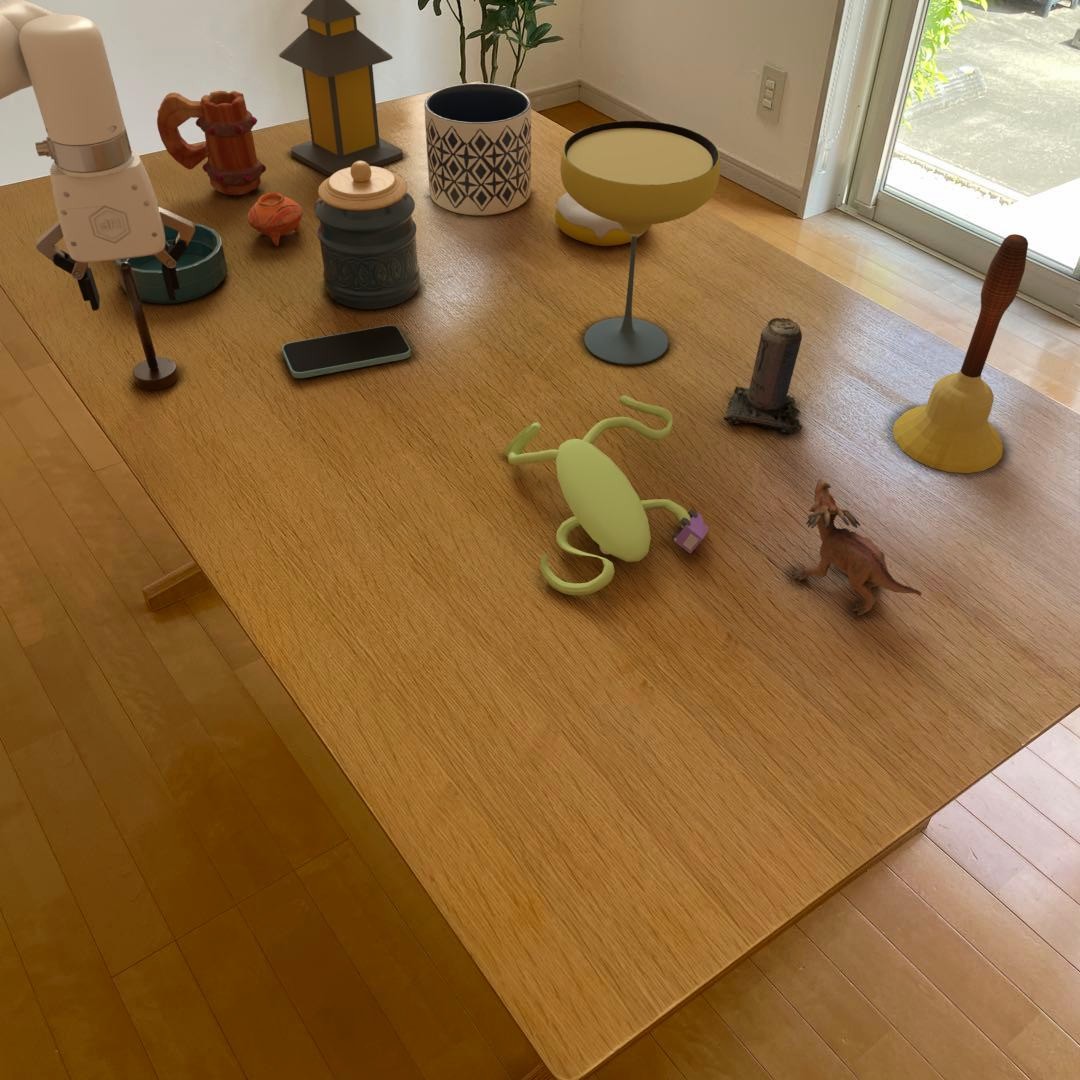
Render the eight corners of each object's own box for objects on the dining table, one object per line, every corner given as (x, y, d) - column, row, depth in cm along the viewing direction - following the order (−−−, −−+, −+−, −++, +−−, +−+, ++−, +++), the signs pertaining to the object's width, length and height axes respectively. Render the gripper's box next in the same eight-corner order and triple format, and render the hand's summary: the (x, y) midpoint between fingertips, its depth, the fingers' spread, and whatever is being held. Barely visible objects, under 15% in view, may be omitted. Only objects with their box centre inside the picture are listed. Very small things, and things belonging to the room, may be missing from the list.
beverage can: (794, 397, 127) (813, 310, 119) (802, 436, 121) (822, 347, 113) (719, 394, 127) (733, 306, 119) (723, 432, 121) (738, 343, 113)
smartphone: (412, 352, 131) (293, 374, 127) (413, 359, 132) (294, 382, 127) (395, 323, 136) (280, 343, 131) (396, 330, 137) (281, 351, 132)
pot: (310, 245, 152) (292, 203, 147) (259, 260, 153) (239, 218, 148) (310, 218, 158) (293, 177, 153) (261, 232, 158) (242, 191, 153)
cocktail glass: (706, 316, 140) (731, 129, 123) (684, 392, 127) (709, 195, 110) (574, 296, 143) (581, 112, 126) (539, 368, 131) (542, 174, 113)
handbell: (936, 483, 115) (1008, 278, 98) (871, 420, 124) (927, 221, 107) (1026, 458, 119) (1111, 256, 102) (957, 398, 127) (1025, 202, 110)
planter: (507, 166, 173) (506, 76, 164) (546, 207, 163) (548, 113, 153) (416, 182, 169) (409, 91, 159) (450, 225, 158) (445, 130, 148)
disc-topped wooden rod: (136, 393, 126) (100, 275, 115) (135, 370, 129) (101, 254, 118) (179, 387, 127) (147, 270, 116) (177, 364, 130) (147, 249, 120)
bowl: (122, 312, 139) (111, 278, 135) (121, 261, 149) (112, 228, 145) (231, 298, 142) (224, 264, 138) (224, 249, 152) (217, 216, 148)
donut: (616, 201, 165) (619, 170, 161) (667, 238, 156) (671, 206, 153) (539, 221, 159) (540, 189, 156) (587, 260, 151) (589, 227, 147)
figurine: (655, 421, 123) (659, 381, 119) (730, 581, 104) (738, 540, 100) (499, 439, 120) (498, 399, 116) (547, 607, 101) (549, 565, 97)
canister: (435, 298, 142) (427, 172, 130) (343, 320, 138) (326, 192, 126) (401, 256, 151) (390, 134, 139) (313, 275, 147) (294, 151, 135)
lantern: (406, 156, 176) (391, -42, 155) (336, 181, 169) (311, -24, 148) (356, 131, 183) (336, -62, 163) (288, 153, 176) (257, -46, 155)
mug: (269, 175, 170) (253, 80, 159) (268, 198, 164) (251, 100, 154) (176, 181, 168) (153, 84, 157) (171, 204, 162) (148, 105, 152)
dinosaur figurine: (769, 562, 106) (785, 492, 100) (804, 536, 109) (822, 466, 102) (884, 638, 99) (909, 568, 92) (919, 608, 102) (946, 537, 95)
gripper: (-2, 173, 104) (53, 327, 116) (180, 154, 108) (214, 306, 120) (4, 143, 109) (56, 293, 121) (177, 126, 113) (210, 274, 125)
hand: (134, 298), depth 120 cm, fingers open, 7 cm apart
